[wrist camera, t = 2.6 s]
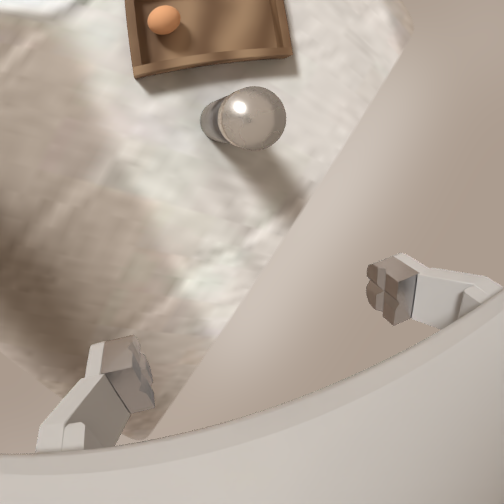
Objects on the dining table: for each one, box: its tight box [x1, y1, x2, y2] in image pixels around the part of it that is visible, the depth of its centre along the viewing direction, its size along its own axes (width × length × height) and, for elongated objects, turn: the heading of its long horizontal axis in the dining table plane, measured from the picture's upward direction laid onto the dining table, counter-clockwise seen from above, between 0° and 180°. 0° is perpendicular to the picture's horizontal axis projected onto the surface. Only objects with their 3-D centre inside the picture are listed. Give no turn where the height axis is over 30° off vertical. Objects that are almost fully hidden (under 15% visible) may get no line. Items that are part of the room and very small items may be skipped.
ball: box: [147, 5, 181, 35], centre depth 26 cm, size 4×4×4 cm
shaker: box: [200, 86, 286, 150], centre depth 29 cm, size 5×5×13 cm
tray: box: [125, 0, 293, 79], centre depth 28 cm, size 18×12×2 cm, turn 99°
